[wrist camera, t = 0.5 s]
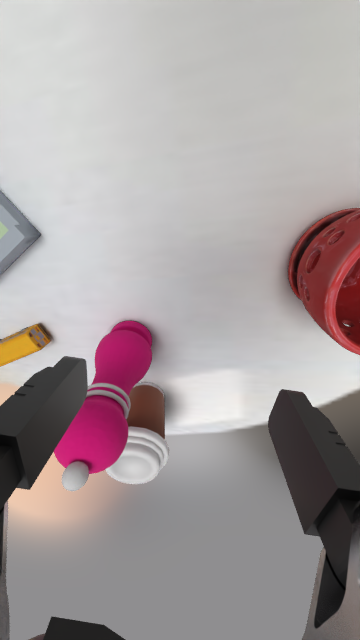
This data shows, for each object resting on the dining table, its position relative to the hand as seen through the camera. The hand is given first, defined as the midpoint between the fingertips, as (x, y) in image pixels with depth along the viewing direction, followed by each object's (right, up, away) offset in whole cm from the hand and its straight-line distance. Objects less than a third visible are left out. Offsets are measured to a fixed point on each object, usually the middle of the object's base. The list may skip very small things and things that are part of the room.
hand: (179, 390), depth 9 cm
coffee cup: (-6, -10, +29) cm, 32 cm away
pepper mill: (-7, 0, +24) cm, 25 cm away
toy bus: (-24, 0, +25) cm, 34 cm away
